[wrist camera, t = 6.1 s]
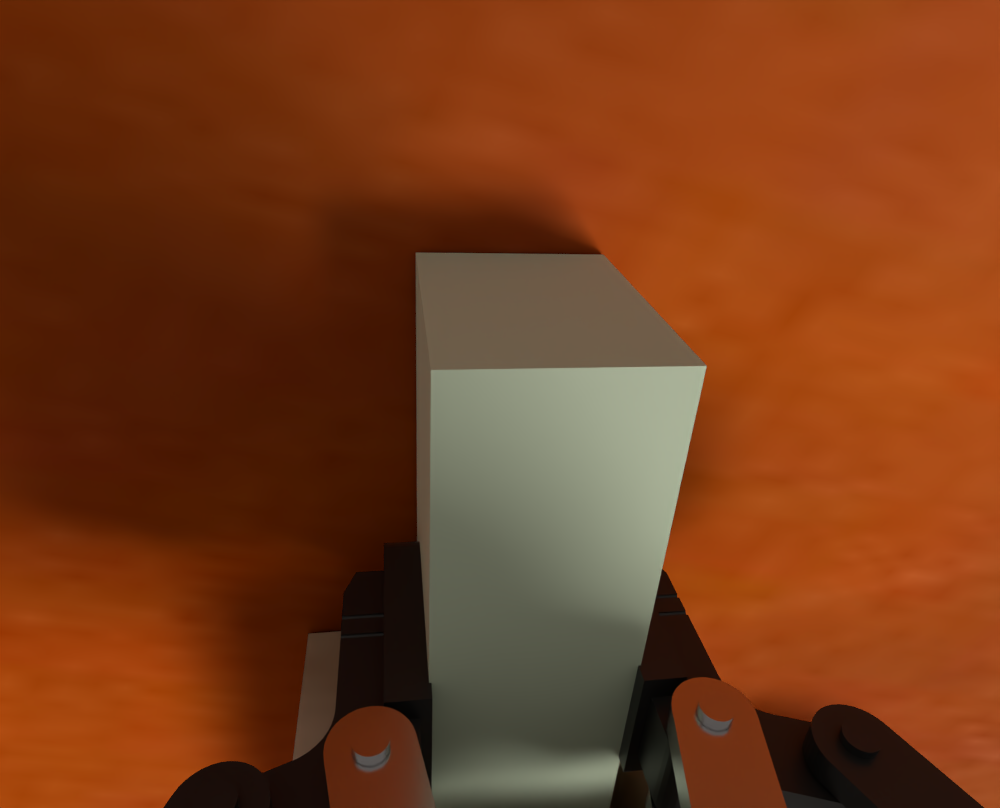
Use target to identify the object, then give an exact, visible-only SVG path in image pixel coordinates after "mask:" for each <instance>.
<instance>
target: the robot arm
mask: <svg viewBox="0 0 1000 808" xmlns="http://www.w3.org/2000/svg"><path fill="white" fill-rule="evenodd" d="M432 701H433V698H432V684H431V683H429V676H428V661H427V646H426V631H425V615H424V600H423V585H422V569H421V554H420V542H419V541H415V542H396V543H384V571H369V572H356V574H355V576H354V577H353V579H352V580H351V582H350V584H349V585H348V587H347V588H346V590H345V592H344V596H343V610H342V624H341V640H340V652H339V666H338V679H337V693H336V707H335V714H334V718H333V721H332V724H331V726H330V728H329V730H328V732H327V733H326V735H325V736H324V737H323V739H322V740H321V741H320V742H319V743H318V744H317V745H316V746H315V747H314V748H312V749H311V750H310V751H309V752H307V753H306V754H304V755H303V756H301V757H299V758H297V759H295V760H293V761H291V762H288V763H286V764H283V765H281V766H279V767H276V768H274V769H271V770H269V771H266V772H264V773H261V772H260V771H259V770H258V769H257V768H255V767H254V766H252V765H249V764H247V763H243V762H238V761H227V762H220V763H217V764H213V765H210V766H208V767H206V768H203V769H201V770H200V771H198V772H196V773H195V774H193V775H192V776H190V777H189V778H188V779H187V780H185V781H184V782H183V783H182V784H181V785H180V786H179V787H178V789H177V790H176V791H175V792H174V794H173V795H172V796H171V798H170V799H169V801H168V802H167V803H166V805H165V806H164V808H436V805H435V801H434V798H433V794H432ZM619 760H620V763H621V766H622V769H623V772H631V771H640V770H643V773H644V776H645V779H646V782H647V785H648V791H647V795H646V800H645V808H984V807H983V806H981V805H980V804H979V803H978V802H977V801H975V800H974V799H973V798H972V797H971V796H970V795H968V794H967V793H966V792H965V791H964V790H962V789H961V788H960V787H959V786H958V785H956V784H955V783H954V782H953V781H952V780H951V779H949V778H948V777H947V776H946V775H945V774H943V773H942V772H941V771H940V770H939V769H938V768H936V767H935V766H934V765H933V764H932V763H930V762H929V761H928V760H927V759H926V758H925V757H923V756H922V755H921V754H920V753H919V752H917V751H916V750H915V749H914V748H913V747H912V746H910V745H909V744H908V743H907V742H906V741H904V740H903V739H902V738H901V737H900V736H898V735H897V734H896V733H895V732H894V731H893V730H891V729H890V728H889V727H888V726H887V725H885V724H884V723H883V722H882V721H880V720H879V719H878V718H876V717H874V716H873V715H871V714H870V713H868V712H865V711H863V710H861V709H858V708H856V707H852V706H848V705H840V704H837V705H829V706H825V707H823V708H821V709H820V710H819V711H818V712H816V714H815V715H814V717H813V719H812V722H806V721H801V720H797V719H792V718H787V717H782V716H777V715H772V714H769V713H765V712H762V711H759V710H757V709H755V708H754V707H753V705H752V704H751V702H750V701H749V700H748V699H747V698H746V697H745V696H744V695H743V694H742V693H741V692H740V691H739V690H737V689H736V688H734V687H733V686H731V685H729V684H727V683H725V682H723V681H721V679H720V678H719V676H718V674H717V672H716V670H715V668H714V666H713V664H712V662H711V660H710V658H709V656H708V654H707V652H706V650H705V648H704V646H703V644H702V642H701V640H700V638H699V636H698V634H697V632H696V630H695V628H694V626H693V624H692V622H691V620H690V619H689V617H688V615H686V613H685V609H684V607H683V605H682V603H681V601H680V599H679V598H677V593H676V591H675V589H674V587H673V585H672V583H671V581H670V579H669V577H668V575H667V573H666V572H665V571H664V570H663V569H662V571H661V576H660V580H659V585H658V590H657V594H656V599H655V603H654V608H653V612H652V617H651V621H650V626H649V630H648V635H647V640H646V644H645V649H644V653H643V658H642V662H641V665H638V669H637V674H636V678H635V683H634V688H633V692H632V697H631V701H630V706H629V711H628V715H627V720H626V724H625V729H624V734H623V738H622V743H621V747H620V752H619Z"/></svg>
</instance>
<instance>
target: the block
mask: <svg viewBox="0 0 1000 808" xmlns="http://www.w3.org/2000/svg"><path fill="white" fill-rule="evenodd" d="M340 640H341V631H337V632H324V633H311V634H308V641H307V649H306V657H305V665H304V673H303V681H302V689H301V697H300V705H299V713H298V721H297V730H296V738H295V746H294V754H293V760H295V759H297V758H299V757H301V756H303V755H304V754H306V753H307V752H309V751H310V750H311V749H312V748H314V747H315V746H316V745H317V744H318V743H319V742H320V741H321V740H322V739H323V737H324V736H325V735H326V733H327V732H328V730H329V728H330V726H331V724H332V721H333V718H334V714H335V707H336V693H337V679H338V666H339V652H340ZM647 791H648V785H647V782H646V779H645V776H644V773H643V770H640V771H631V772H623V769H622V766H621V763H620V762H619V767H618V771H617V776H616V781H615V785H614V790H613V794H612V799H611V803H610V808H645V800H646V795H647Z"/></svg>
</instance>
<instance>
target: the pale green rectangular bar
mask: <svg viewBox="0 0 1000 808" xmlns="http://www.w3.org/2000/svg"><path fill="white" fill-rule="evenodd" d="M706 367H707V366H706V365H705V364H704V363H703V361H702V360H701V359H700V358H699V357H698V356H697V355H696V354H695V353H694V352H693V351H692V350H691V349H690V347H689V346H688V345H687V344H686V343H685V342H684V341H683V340H682V339H681V338H680V337H679V336H678V335H677V333H676V332H675V331H674V330H673V329H672V328H671V327H670V326H669V325H668V324H667V323H666V322H665V321H664V319H663V318H662V317H661V316H660V315H659V314H658V313H657V312H656V311H655V310H654V309H653V308H652V307H651V305H650V304H649V303H648V302H647V301H646V300H645V299H644V298H643V297H642V296H641V295H640V294H639V293H638V291H637V290H636V289H635V288H634V287H633V286H632V285H631V284H630V283H629V282H628V281H627V280H626V278H625V277H624V276H623V275H622V274H621V273H620V272H619V271H618V270H617V269H616V268H615V267H614V266H613V264H612V263H611V262H610V261H609V260H608V259H607V258H606V257H605V256H604V255H601V254H510V253H419V252H416V421H417V541H419V542H420V554H421V569H422V585H423V600H424V615H425V631H426V646H427V661H428V676H429V683H431V684H432V698H433V701H432V794H433V798H434V801H435V805H436V808H610V803H611V799H612V794H613V790H614V785H615V781H616V776H617V771H618V767H619V762H620V760H619V752H620V747H621V743H622V738H623V734H624V729H625V724H626V720H627V715H628V711H629V706H630V701H631V697H632V692H633V688H634V683H635V678H636V674H637V669H638V665H641V662H642V658H643V653H644V649H645V644H646V640H647V635H648V630H649V626H650V621H651V617H652V612H653V608H654V603H655V599H656V594H657V590H658V585H659V580H660V576H661V571H662V567H663V562H664V558H665V553H666V549H667V544H668V540H669V535H670V530H671V526H672V521H673V517H674V512H675V508H676V503H677V499H678V494H679V490H680V485H681V480H682V476H683V471H684V467H685V462H686V458H687V453H688V449H689V444H690V440H691V435H692V430H693V426H694V421H695V417H696V412H697V408H698V403H699V399H700V394H701V389H702V385H703V380H704V376H705V371H706Z"/></svg>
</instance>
